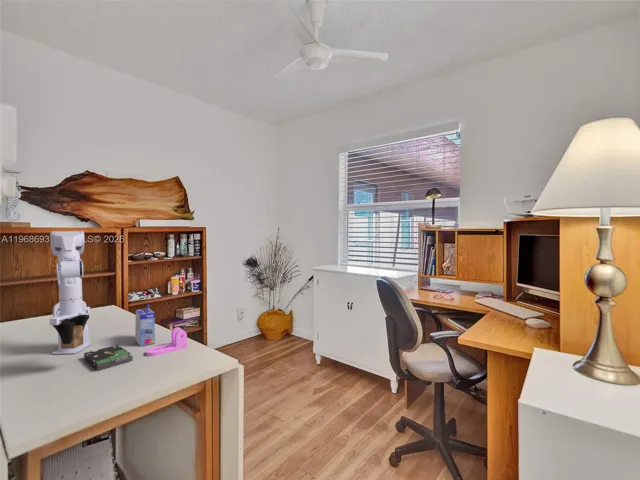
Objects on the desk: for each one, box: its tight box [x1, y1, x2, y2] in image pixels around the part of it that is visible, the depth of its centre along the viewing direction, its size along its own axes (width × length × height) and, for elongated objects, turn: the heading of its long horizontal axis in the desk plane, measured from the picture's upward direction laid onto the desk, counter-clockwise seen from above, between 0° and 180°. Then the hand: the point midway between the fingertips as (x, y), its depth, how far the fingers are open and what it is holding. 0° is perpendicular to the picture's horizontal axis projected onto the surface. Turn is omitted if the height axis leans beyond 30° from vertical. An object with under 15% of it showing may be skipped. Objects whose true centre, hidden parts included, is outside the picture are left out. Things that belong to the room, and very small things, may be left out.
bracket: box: [145, 326, 188, 357], centre depth 114 cm, size 13×6×7 cm, turn 132°
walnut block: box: [61, 326, 83, 349], centre depth 99 cm, size 4×4×6 cm
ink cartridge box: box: [134, 303, 156, 347], centre depth 123 cm, size 10×6×14 cm, turn 40°
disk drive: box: [83, 344, 133, 372], centre depth 106 cm, size 10×3×15 cm
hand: (72, 340), depth 100 cm, fingers closed on walnut block, 4 cm apart
